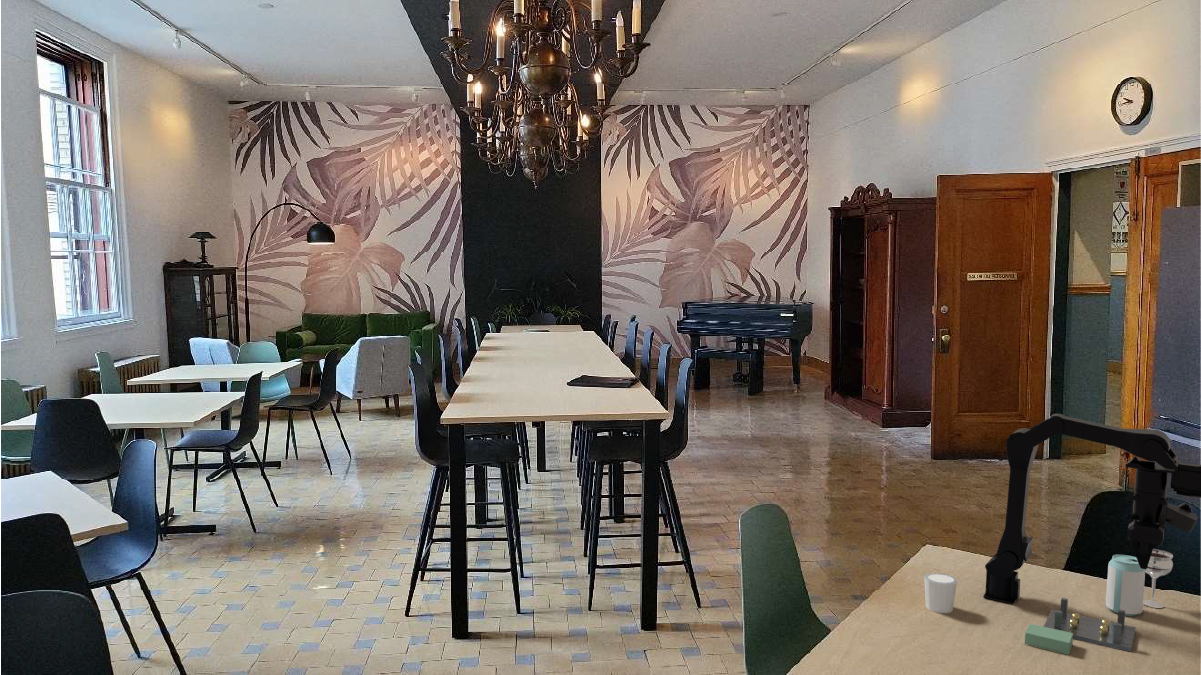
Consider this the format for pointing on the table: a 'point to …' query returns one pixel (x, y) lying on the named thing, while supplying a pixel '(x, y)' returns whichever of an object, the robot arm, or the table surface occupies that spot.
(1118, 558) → the can
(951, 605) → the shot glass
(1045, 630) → the green rectangular block
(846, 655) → the table surface
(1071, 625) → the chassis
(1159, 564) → the wineglass
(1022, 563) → the robot arm
